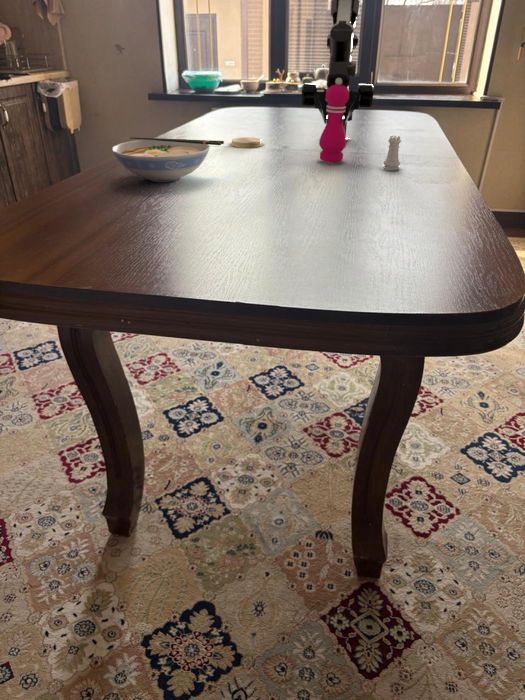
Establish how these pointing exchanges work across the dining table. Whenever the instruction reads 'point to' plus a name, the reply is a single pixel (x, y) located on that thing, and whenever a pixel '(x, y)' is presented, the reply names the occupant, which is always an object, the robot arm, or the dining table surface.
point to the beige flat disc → (246, 142)
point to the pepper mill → (334, 123)
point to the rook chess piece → (392, 155)
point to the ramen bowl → (163, 157)
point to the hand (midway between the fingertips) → (334, 122)
